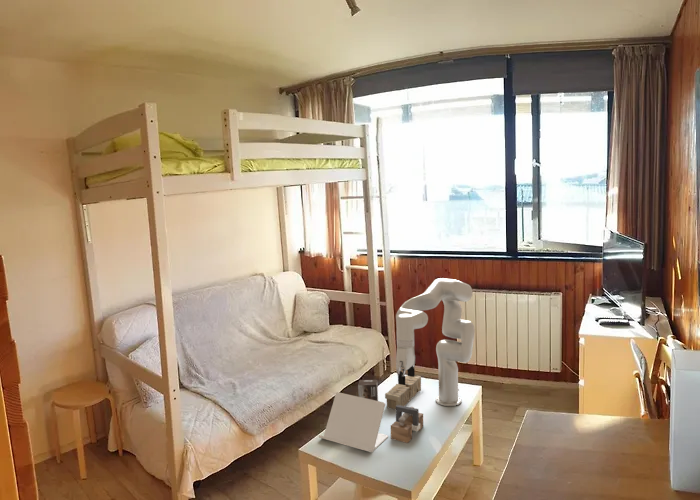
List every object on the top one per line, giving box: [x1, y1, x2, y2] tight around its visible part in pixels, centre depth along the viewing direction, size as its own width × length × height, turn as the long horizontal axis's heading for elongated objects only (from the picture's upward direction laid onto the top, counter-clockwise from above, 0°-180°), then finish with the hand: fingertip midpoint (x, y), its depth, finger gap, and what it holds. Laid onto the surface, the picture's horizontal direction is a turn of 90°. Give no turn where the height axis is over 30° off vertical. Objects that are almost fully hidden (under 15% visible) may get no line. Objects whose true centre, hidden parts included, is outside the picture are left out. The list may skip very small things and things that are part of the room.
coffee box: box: [357, 379, 379, 401], centre depth 250 cm, size 9×6×16 cm
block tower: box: [384, 374, 422, 410], centre depth 267 cm, size 8×8×29 cm
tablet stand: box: [318, 391, 389, 453], centre depth 227 cm, size 18×25×17 cm
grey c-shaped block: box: [394, 405, 421, 432], centre depth 231 cm, size 4×11×9 cm, turn 60°
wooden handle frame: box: [390, 406, 424, 444], centre depth 231 cm, size 17×8×10 cm, turn 149°
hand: (406, 380), depth 229 cm, fingers open, 9 cm apart
